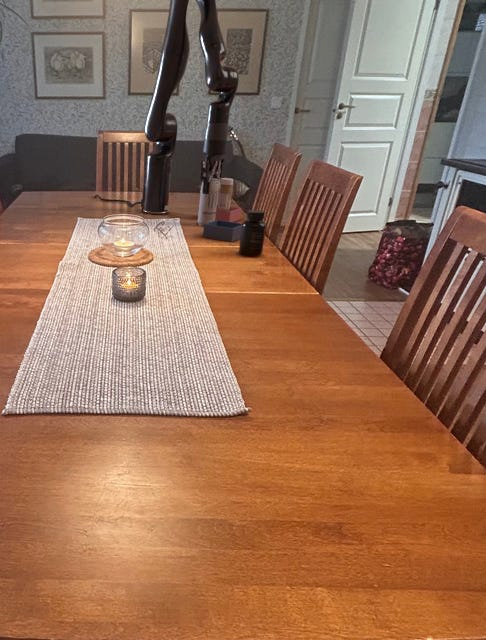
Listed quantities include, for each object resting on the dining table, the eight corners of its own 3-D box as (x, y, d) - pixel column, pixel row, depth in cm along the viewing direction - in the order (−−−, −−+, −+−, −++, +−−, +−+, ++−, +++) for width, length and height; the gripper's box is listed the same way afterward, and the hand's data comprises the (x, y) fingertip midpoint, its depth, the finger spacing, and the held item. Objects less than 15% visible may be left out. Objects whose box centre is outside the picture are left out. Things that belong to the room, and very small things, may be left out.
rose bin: (203, 219, 219) (204, 207, 217) (215, 215, 227) (216, 204, 224) (229, 223, 215) (230, 211, 212) (239, 219, 222) (241, 208, 220)
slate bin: (202, 237, 193) (204, 224, 191) (215, 232, 201) (217, 219, 198) (231, 241, 189) (233, 228, 186) (243, 236, 196) (245, 224, 194)
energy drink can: (202, 226, 207) (207, 180, 199) (194, 223, 212) (199, 177, 204) (217, 226, 209) (223, 179, 201) (208, 222, 214) (214, 177, 206)
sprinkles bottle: (230, 218, 220) (236, 178, 213) (223, 219, 218) (228, 179, 210) (220, 216, 223) (225, 177, 216) (213, 217, 220) (218, 178, 213)
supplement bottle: (263, 253, 177) (271, 210, 170) (258, 258, 171) (265, 214, 165) (241, 250, 179) (247, 208, 173) (235, 255, 174) (241, 211, 167)
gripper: (214, 136, 203) (208, 189, 212) (196, 138, 192) (190, 193, 201) (234, 138, 199) (227, 192, 208) (217, 139, 189) (210, 196, 198)
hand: (209, 192), depth 205 cm, fingers closed on energy drink can, 6 cm apart
